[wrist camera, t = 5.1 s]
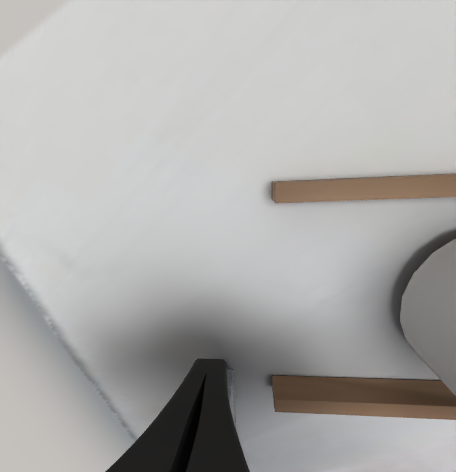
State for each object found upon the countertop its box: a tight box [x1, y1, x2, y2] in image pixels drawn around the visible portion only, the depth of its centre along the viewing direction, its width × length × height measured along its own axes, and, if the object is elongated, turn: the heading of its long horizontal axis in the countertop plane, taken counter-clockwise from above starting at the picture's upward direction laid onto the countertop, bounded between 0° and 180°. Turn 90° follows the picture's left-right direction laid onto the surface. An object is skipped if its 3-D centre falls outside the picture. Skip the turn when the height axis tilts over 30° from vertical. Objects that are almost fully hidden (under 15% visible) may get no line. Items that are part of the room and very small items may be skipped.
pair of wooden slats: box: [272, 173, 456, 420], centre depth 11 cm, size 12×14×2 cm
